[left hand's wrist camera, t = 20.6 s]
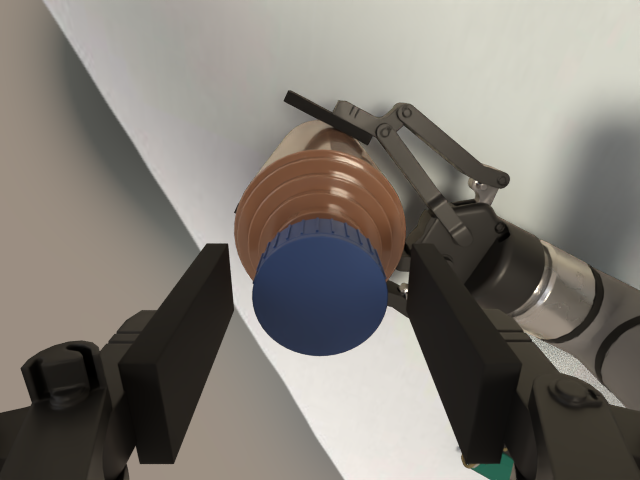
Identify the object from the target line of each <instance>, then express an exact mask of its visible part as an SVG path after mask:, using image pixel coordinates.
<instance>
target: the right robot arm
mask: <svg viewBox="0 0 640 480" xmlns="http://www.w3.org/2000/svg"><path fill="white" fill-rule="evenodd" d="M284 102H286V103H288V104H290V105H292V106H294V107H296V108H298V109H300V110H301V111H303V112H305V113H307V114H309V115H311V116H313V117H315V118H317V119H319V120H320V121H322V122H324V123H326V124H328V125H330V126H332V127H334V128H336V129H338V130H339V131H341V132H343V133H345V134H347V135H349V136H351V137H353V138H355V139H357V140H358V141H360V142H362V143H364V144H366V145H368V144H369V142H370V140H371V138H372V137H373V136H374V137H376V138H377V140H378V141H379V142H380V144H381V145H382V146H383V148H384V149H385V150H386V152H387V153H388V154H389V156H390V157H391V158H392V160H393V161H394V162H395V164H396V165H397V166H398V168H399V169H400V170H401V172H402V173H403V174H404V176H405V177H406V178H407V180H408V181H409V182H410V184H411V185H412V186H413V188H414V189H415V190H416V192H417V193H418V194H419V196H420V197H421V199H422V200H423V201H424V203H425V204H426V205H427V207H428V208H429V209H428V210H426V209H425V210H424V212H423V213H422V215H421V216H420V219H419V222H418V225H417V227H416V228H415V229H414V230H413V231H412V232H411V233H410V234H409V236H408V237H407V239H406V241H405V244H404V249H403V252H402V255H401V258H400V261H399V263H398V265H397V267H396V270H399V271H408V272H409V271H410V260H411V249H412V244H434V245H435V247H436V248H437V249H438V251H439V252H440V253H441V255H442V256H443V257H444V259H445V260H446V261H447V263H448V264H449V265H450V267H451V268H452V269H453V271H454V272H455V273H456V275H457V276H458V278H459V279H460V280H461V282H462V283H463V284H464V286H465V287H466V288H467V290H468V291H469V292H470V294H471V295H472V296H473V298H474V299H475V300H476V302H477V303H478V304H479V306H480V307H481V308H482V309H499V310H501V311H502V312H504V313H505V314H507V315H509V316H510V317H512V318H513V319H514V320H515V321H516V322H517V323H518V324H519V325H520V327H521V328H522V329H523V330H524V332H526V333H528V334H530V335H533V336H535V337H537V338H538V339H540V340H542V341H545V342H547V343H549V344H551V345H553V346H555V347H557V348H559V349H561V350H563V351H565V352H567V353H569V354H571V355H572V356H574V357H575V358H577V359H578V360H579V361H580V362H581V363H582V364H583V365H584V366H585V367H586V368H587V369H588V370H589V371H590V372H591V373H592V374H593V375H594V376H595V377H596V378H597V379H598V380H599V382H600V383H601V384H602V385H604V386H605V387H606V388H607V389H608V390H609V391H610V392H611V393H613V394H614V395H615V396H616V397H617V398H618V399H619V400H620V401H621V403H622V404H623V405H624V406H625V407H626V408H628V409H632V410H637V411H640V291H639V290H637V289H635V288H633V287H632V286H630V285H628V284H626V283H624V282H622V281H620V280H618V279H616V278H614V277H611V276H609V275H607V274H605V273H603V272H601V271H599V270H597V269H595V268H593V267H592V266H590V265H589V264H587V263H585V262H584V261H582V260H580V259H578V258H576V257H574V256H572V255H570V254H568V253H567V252H565V251H563V250H561V249H559V248H557V247H555V246H553V245H552V244H550V243H548V242H545V241H543V240H539V239H538V238H537V237H536V236H534V235H532V234H531V233H529V232H527V231H525V230H523V229H521V228H519V227H517V226H515V225H513V224H512V223H510V222H508V221H506V220H504V219H502V218H500V217H498V216H497V215H496V214H495V212H494V210H493V208H492V207H491V204H492V202H493V199H494V197H495V195H496V193H497V191H498V189H499V188H500V189H501V188H504V187H506V186H507V185H508V184H509V181H510V177H509V175H508V174H507V173H505V172H503V171H500V170H498V169H496V168H493V167H491V166H488V165H485V164H482V163H480V162H479V161H478V160H476V159H475V158H474V157H473V156H472V155H471V154H469V153H468V152H467V151H466V150H465V149H463V148H462V147H461V146H460V145H459V144H458V143H456V142H455V141H454V140H453V139H452V138H450V137H449V136H448V135H447V134H446V133H445V132H443V131H442V130H441V129H440V128H439V127H437V126H436V125H435V124H434V123H433V122H432V121H430V120H429V119H428V118H427V117H426V116H424V115H423V114H422V113H421V112H420V111H419V110H417V109H416V108H415V107H414V106H413V105H411V104H407V103H397V104H395V105H394V107H393V108H392V109H391V110H390V111H389V112H388V113H387V114H386V115H385V116H383V117H375V116H373V115H371V114H369V113H367V112H365V111H364V110H362V109H360V108H358V107H356V106H354V105H353V104H351V103H349V102H347V101H340V100H338V102H337V104H336V106H335V108H334V110H333V112H330V111H329V110H327V109H325V108H323V107H321V106H319V105H317V104H315V103H314V102H312V101H310V100H308V99H306V98H304V97H302V96H300V95H299V94H297V93H295V92H293V91H289V90H288V92H287V95H286V97H285V99H284ZM403 125H404V126H405V127H406V128H407V129H409V130H410V131H411V132H412V133H414V134H415V135H416V136H417V137H418V138H420V139H421V140H422V141H423V142H424V143H426V144H427V145H428V146H429V147H430V148H432V149H433V150H434V151H435V152H437V153H438V154H439V155H440V156H441V157H443V158H444V159H445V160H446V161H447V162H449V163H450V164H451V165H452V166H454V167H455V168H456V169H457V170H459V171H460V172H461V173H463V174H465V175H467V176H468V177H470V178H469V180H468V186H469V187H470V188H471V189H472V190H474V192H475V199H470V200H464V201H458V202H451V203H448V202H447V200H446V199H445V198H444V197H443V196H442V194H441V193H440V192H439V190H438V189H437V188H436V186H435V185H434V184H433V182H432V181H431V179H430V178H429V177H428V175H427V174H426V173H425V171H424V170H423V168H422V167H421V166H420V164H419V163H418V162H417V160H416V159H415V158H414V156H413V155H412V153H411V152H410V151H409V149H408V148H407V147H406V145H405V144H404V142H403V141H402V140H401V138H400V137H399V136H398V134H397V133H396V132H397V131H398V130H399V129H400V128H401V127H402V126H403ZM238 205H239V203H238ZM238 205H237V207H236V210H235V212H234V213H236V212H237V208H238ZM386 284H387V289H388V303H387V306H390V307H393V308H394V309H396V310H397V311H399V312H400V313H402V314H403V315H405V316H406V317H408V314H407V312H406V304H407V293H408V284H407V283H402V284H401V285H400V286H399V285H398V284H396V283H394V282H392V281H389V280H388V281H387V282H386ZM408 318H409V317H408Z"/></svg>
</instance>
